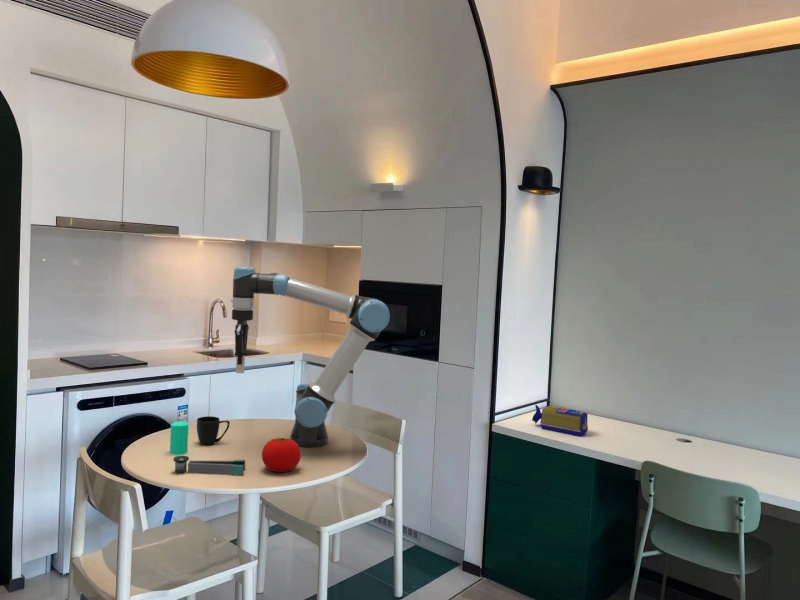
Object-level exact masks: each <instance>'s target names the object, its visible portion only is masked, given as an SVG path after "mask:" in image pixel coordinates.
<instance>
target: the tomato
mask: <svg viewBox="0 0 800 600" xmlns="http://www.w3.org/2000/svg"><path fill="white" fill-rule="evenodd" d="M301 455H302V453H301V448H300V446H298V444H297V443H296V442H295V441H293V440H291V439H290V438H285V437H278V438H272V439H271V440H269V441H267V443H266V444H265V445H264V446H263V447H262V451H261V459H262V463H263V464H264V466H265V467H266V468H267V469H269V470H270V471H273V472H277V473H284V472H288V471H292V470H294V469H296V467H297V466H298V464H299V463H300V461H301V457H302V456H301Z"/></svg>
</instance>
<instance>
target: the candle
mask: <svg viewBox="0 0 800 600" xmlns="http://www.w3.org/2000/svg"><path fill="white" fill-rule="evenodd" d="M169 438H170V439H169V441H170V443H169V454H170V455H175V456H182V455H185V454H187V453H188V447H189V445H188V442H189V422H188V421H174V422H173V423H171V424H170V437H169Z"/></svg>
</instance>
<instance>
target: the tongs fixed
mask: <svg viewBox="0 0 800 600" xmlns="http://www.w3.org/2000/svg"><path fill="white" fill-rule="evenodd" d="M189 458H190V457H189V456H188V455H175V456H174V457H173V462H175V463H174V473H175V474H180V475H181V474H186V472H187V473H190V474H209V475H211V474H214V475H215V474H216V475H231V476H243V475H244V471H245V470H244V465H235V464H212V463H189V461H190V459H189Z"/></svg>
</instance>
